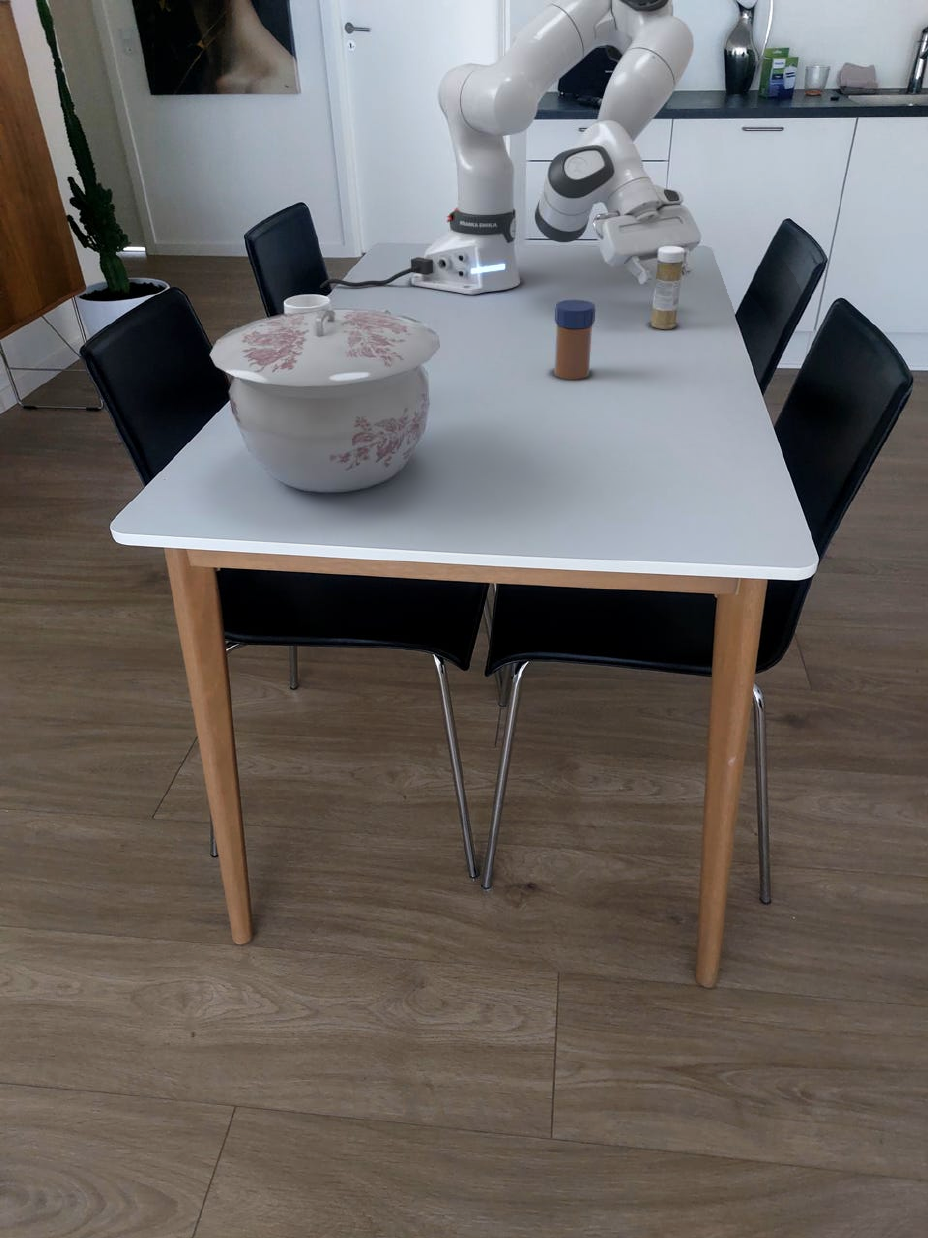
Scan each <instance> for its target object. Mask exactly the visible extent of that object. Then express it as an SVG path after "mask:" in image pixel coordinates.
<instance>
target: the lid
mask: <svg viewBox="0 0 928 1238" xmlns="http://www.w3.org/2000/svg"><path fill="white" fill-rule="evenodd" d="M554 309H555V310H554V322H555V323H554V324H556V326H557V325H559V326H561V327H565V328H586V327H590V326H592V327H593V325H594V324H595V319H596V305H595V303H593V302H591V301H588V300H583V299H566V300H561V301H559V302H557V303H556V304H555V308H554Z"/></svg>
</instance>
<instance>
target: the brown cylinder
mask: <svg viewBox="0 0 928 1238" xmlns="http://www.w3.org/2000/svg"><path fill="white" fill-rule="evenodd" d="M592 334H593V325H592V326H590V327H586V328H565V327H561V326H559V325H557V324H556V329H555V351H554V352H555V353H554V354H555V355H554V375H555V376H556V377H557V378H558V379H562V380H570V381H577V380H583V379H586V378H588V377H589V375H590V367H591V366H590V365H591V352H592V351H591V350H592V336H593V335H592Z"/></svg>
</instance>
